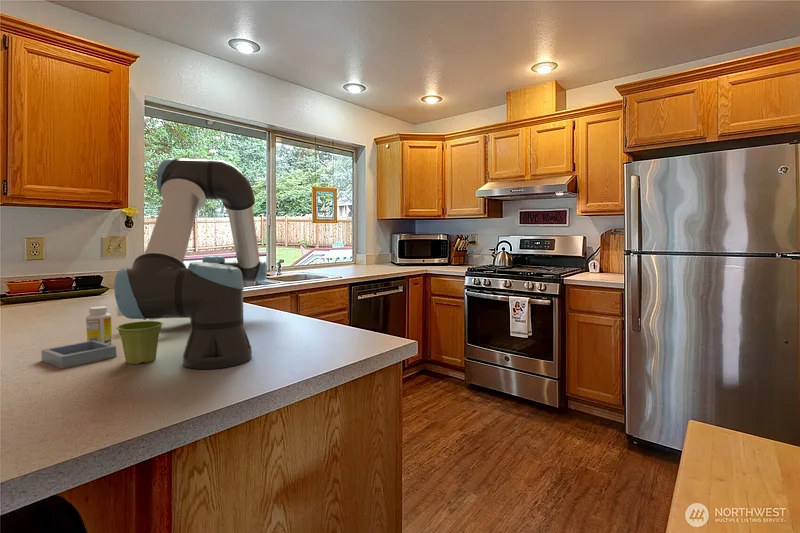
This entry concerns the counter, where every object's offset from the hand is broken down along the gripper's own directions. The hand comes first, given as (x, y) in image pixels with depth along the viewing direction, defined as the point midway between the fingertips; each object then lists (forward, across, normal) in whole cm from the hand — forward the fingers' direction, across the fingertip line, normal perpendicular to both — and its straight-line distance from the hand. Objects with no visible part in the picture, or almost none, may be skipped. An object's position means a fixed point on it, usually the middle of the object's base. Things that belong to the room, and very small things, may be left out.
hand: (133, 313), depth 122 cm
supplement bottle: (+10, 0, -7) cm, 12 cm away
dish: (+21, -9, -6) cm, 24 cm away
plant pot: (+16, -24, -7) cm, 30 cm away
